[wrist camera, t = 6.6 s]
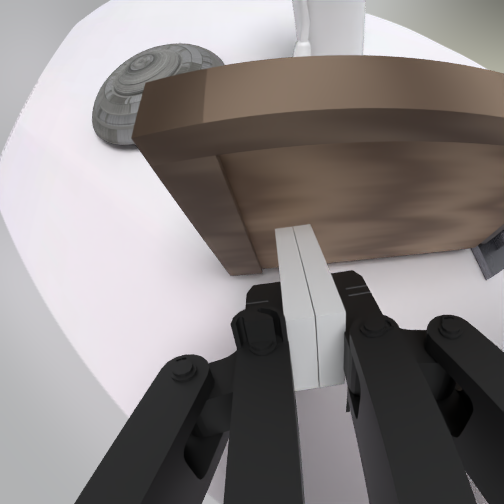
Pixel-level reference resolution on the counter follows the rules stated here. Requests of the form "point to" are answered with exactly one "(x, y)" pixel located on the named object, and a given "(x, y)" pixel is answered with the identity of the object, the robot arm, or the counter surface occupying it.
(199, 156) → the gate
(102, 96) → the flying saucer
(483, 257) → the gate post
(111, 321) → the counter surface
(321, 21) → the fire extinguisher
